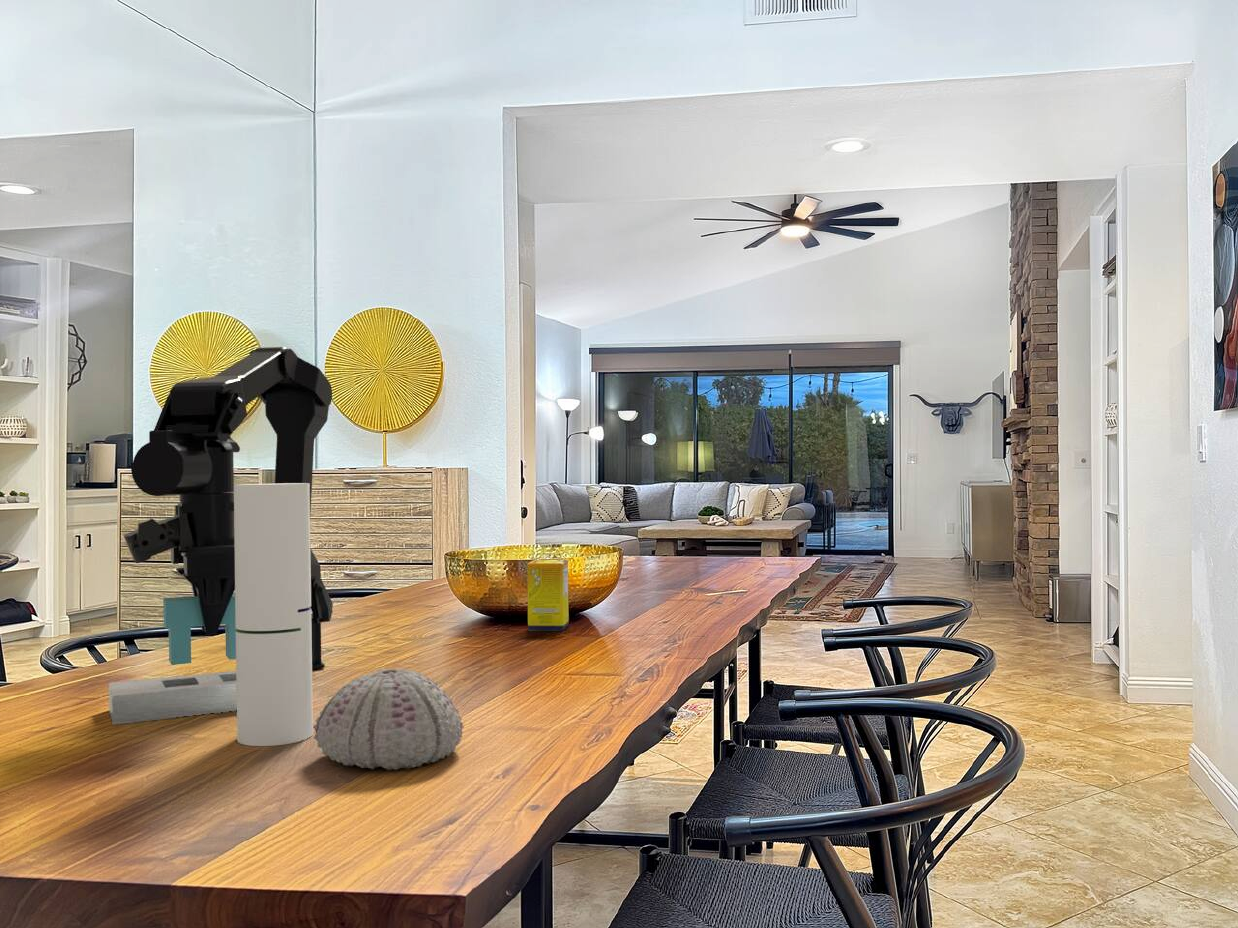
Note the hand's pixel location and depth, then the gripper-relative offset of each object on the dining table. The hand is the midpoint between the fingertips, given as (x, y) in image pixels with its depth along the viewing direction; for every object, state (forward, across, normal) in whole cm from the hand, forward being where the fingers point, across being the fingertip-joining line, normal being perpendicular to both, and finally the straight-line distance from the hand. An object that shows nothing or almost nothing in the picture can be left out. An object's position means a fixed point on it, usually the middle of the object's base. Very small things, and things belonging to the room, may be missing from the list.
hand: (209, 632), depth 120 cm
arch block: (+3, 0, 0) cm, 3 cm away
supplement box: (+9, -33, +56) cm, 65 cm away
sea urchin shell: (+9, +31, +12) cm, 34 cm away
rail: (+8, 0, 0) cm, 8 cm away
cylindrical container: (+8, +18, +4) cm, 20 cm away
